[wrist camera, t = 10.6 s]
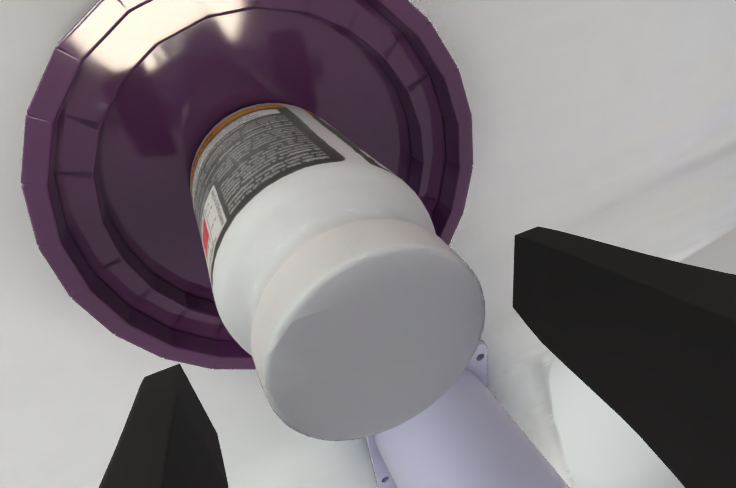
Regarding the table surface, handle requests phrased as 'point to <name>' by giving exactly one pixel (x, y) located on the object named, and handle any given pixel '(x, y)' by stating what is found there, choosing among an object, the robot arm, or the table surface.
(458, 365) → the pill bottle
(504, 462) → the robot arm
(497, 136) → the table surface
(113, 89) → the dish
